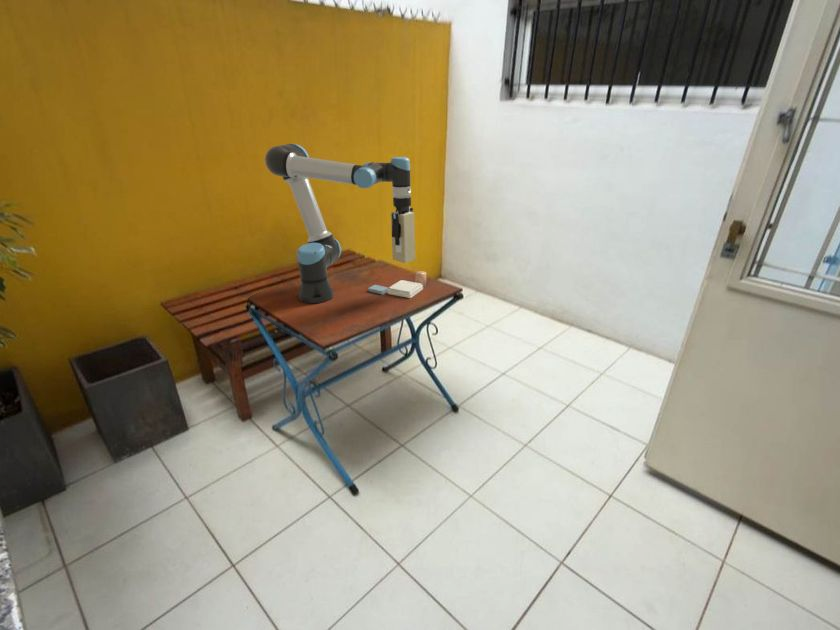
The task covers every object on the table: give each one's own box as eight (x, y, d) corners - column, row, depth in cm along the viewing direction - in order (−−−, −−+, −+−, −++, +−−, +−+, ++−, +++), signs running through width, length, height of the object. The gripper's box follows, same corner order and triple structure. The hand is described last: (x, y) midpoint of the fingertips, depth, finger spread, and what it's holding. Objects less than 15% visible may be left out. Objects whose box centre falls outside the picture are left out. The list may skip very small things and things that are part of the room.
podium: (387, 293, 196) (387, 288, 195) (400, 284, 206) (400, 279, 205) (410, 298, 191) (410, 292, 190) (423, 289, 201) (423, 283, 199)
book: (368, 292, 200) (368, 288, 199) (375, 288, 204) (374, 284, 203) (382, 295, 196) (382, 291, 195) (388, 291, 200) (388, 287, 199)
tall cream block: (416, 259, 192) (415, 212, 183) (405, 263, 187) (403, 215, 178) (404, 255, 197) (402, 209, 188) (392, 259, 192) (389, 212, 183)
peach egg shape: (413, 285, 205) (413, 273, 202) (419, 282, 209) (418, 270, 206) (423, 287, 203) (423, 275, 200) (428, 283, 207) (428, 271, 204)
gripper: (396, 201, 170) (399, 257, 180) (421, 193, 186) (422, 244, 196) (380, 200, 173) (384, 254, 183) (406, 191, 190) (408, 242, 200)
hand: (404, 249), depth 190 cm, fingers closed on tall cream block, 8 cm apart
